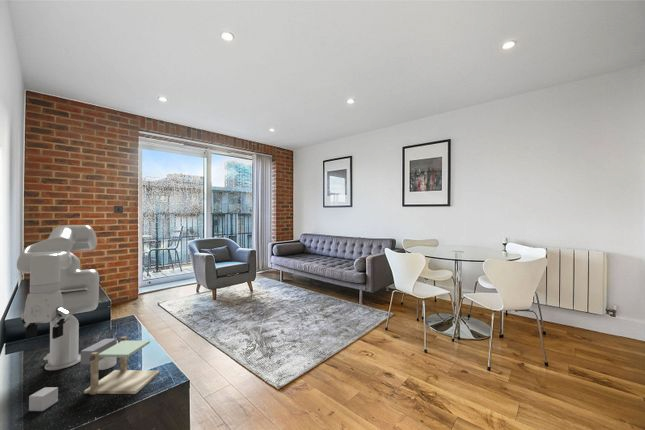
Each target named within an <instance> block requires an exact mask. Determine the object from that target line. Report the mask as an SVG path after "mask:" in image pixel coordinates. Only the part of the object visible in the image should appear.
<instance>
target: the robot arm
mask: <svg viewBox="0 0 645 430" xmlns="http://www.w3.org/2000/svg"><path fill="white" fill-rule="evenodd" d="M97 246H98V238H97V234H96V232H95V230H94V229H93V227H92V226H90V225H86V224H82V225H79V224H77V225H76V224H75V225H74V224H73V225H71V224H70V225H67V224H66V225H60V226H57V227H55V228H54V229H53V230H52V231H51V232H50V234H49V236H48V237H47V238H46V239H44V240H41V241H38V242H35V243H33V244H32V243H31V244H30V245H28V246H27V247H25V248H24V249H23V250H22V251H21V253H20V255H19V256H18V258H17V261H16V268H17V270H18V272H20V273H22V274H29V293H28V294H27V296H26V299H25V305H24V310H23V312H21V313H20V314H19V316H20V319H21V322H22V324H23V327H24V328H25V340H28V339H31V338H34V337H36V336H38V324H48V323H49V326H50V327H49V353H47V354H46V356H44V357H43V361H47V363H46V364H44V370H46V371H58V370H63V369H65V368H69V367H72V366H74V365H76V364H78V363H81V353H79V345H80V344H79V342H80V341H79V339H80V338H79V336H80V335H79V333H80V332H79V329H80V326H79V325H80V323H79V320H78V319H77V318H76V316H74V315H75V314H80V313H85V312H86V313H87V312H93V311H95V310H96V309H97V308H98V307H99V299H100V298H99V297H100V274H99V272H98V270H97V269H95V268H94V269H93V268H92V269H88V268H87V269H81V260H80V258H78V256H77V255H75V254H74V253H73V252H85V251H86V252H87V251H92V250H95V248H96V247H97ZM81 290H86V291H81ZM73 291H78V292H73ZM63 292H65V293H63ZM66 292H69V293H66ZM62 293H63V294H62Z"/></svg>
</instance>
